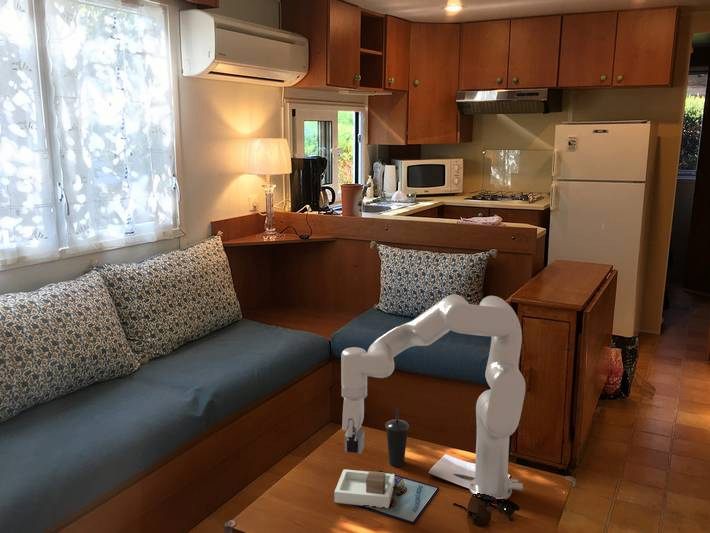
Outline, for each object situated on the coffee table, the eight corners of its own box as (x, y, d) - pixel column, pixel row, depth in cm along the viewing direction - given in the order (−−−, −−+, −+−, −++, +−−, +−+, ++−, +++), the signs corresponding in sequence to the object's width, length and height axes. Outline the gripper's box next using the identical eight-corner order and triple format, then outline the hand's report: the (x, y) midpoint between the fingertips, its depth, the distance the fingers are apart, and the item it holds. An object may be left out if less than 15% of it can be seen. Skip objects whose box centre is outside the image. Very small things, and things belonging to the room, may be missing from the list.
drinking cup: (406, 470, 212) (407, 412, 208) (383, 467, 214) (383, 410, 210) (409, 458, 220) (410, 402, 215) (386, 456, 221) (387, 400, 217)
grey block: (348, 443, 200) (347, 428, 199) (364, 445, 199) (364, 429, 198) (344, 451, 195) (344, 435, 194) (361, 453, 194) (361, 437, 193)
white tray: (394, 484, 204) (394, 474, 203) (388, 508, 192) (388, 497, 191) (343, 479, 207) (343, 469, 206) (334, 502, 195) (334, 491, 194)
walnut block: (369, 486, 201) (369, 471, 200) (385, 487, 200) (385, 472, 199) (366, 494, 197) (366, 479, 196) (382, 496, 196) (382, 481, 195)
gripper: (347, 378, 202) (347, 433, 206) (335, 401, 185) (335, 460, 189) (371, 380, 200) (371, 435, 204) (361, 403, 184) (361, 462, 188)
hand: (354, 446), depth 197 cm, fingers closed on grey block, 5 cm apart
